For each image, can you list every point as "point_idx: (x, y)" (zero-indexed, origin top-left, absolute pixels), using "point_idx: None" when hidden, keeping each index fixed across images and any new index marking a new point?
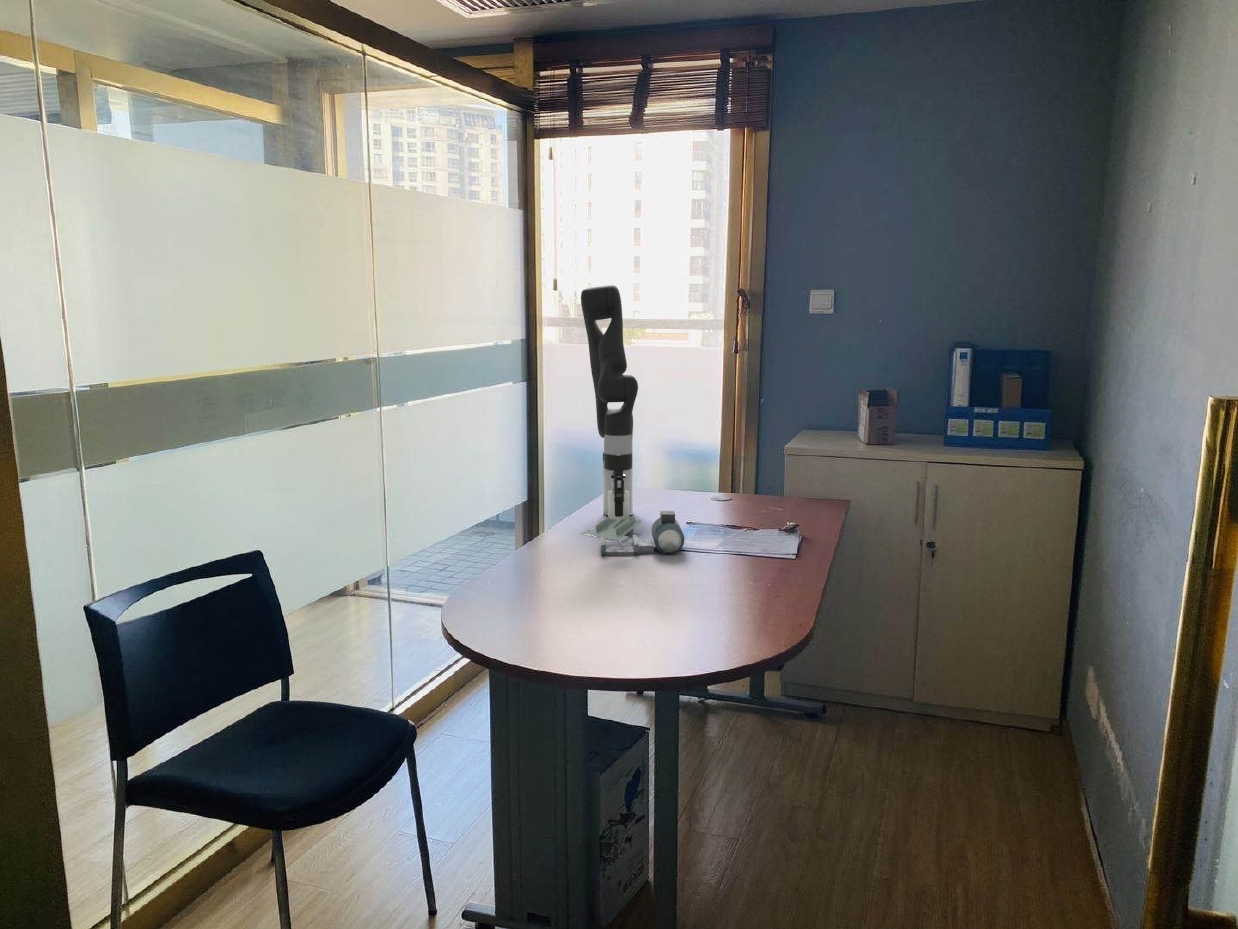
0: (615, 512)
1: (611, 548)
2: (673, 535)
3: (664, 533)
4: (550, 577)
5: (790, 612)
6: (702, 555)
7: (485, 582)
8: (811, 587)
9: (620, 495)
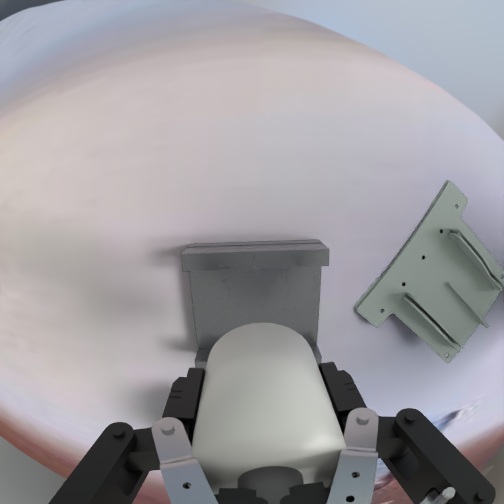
0: (187, 380)
1: (236, 282)
2: None
3: None
4: (22, 129)
5: (15, 441)
6: None
7: (28, 22)
8: None
9: None
